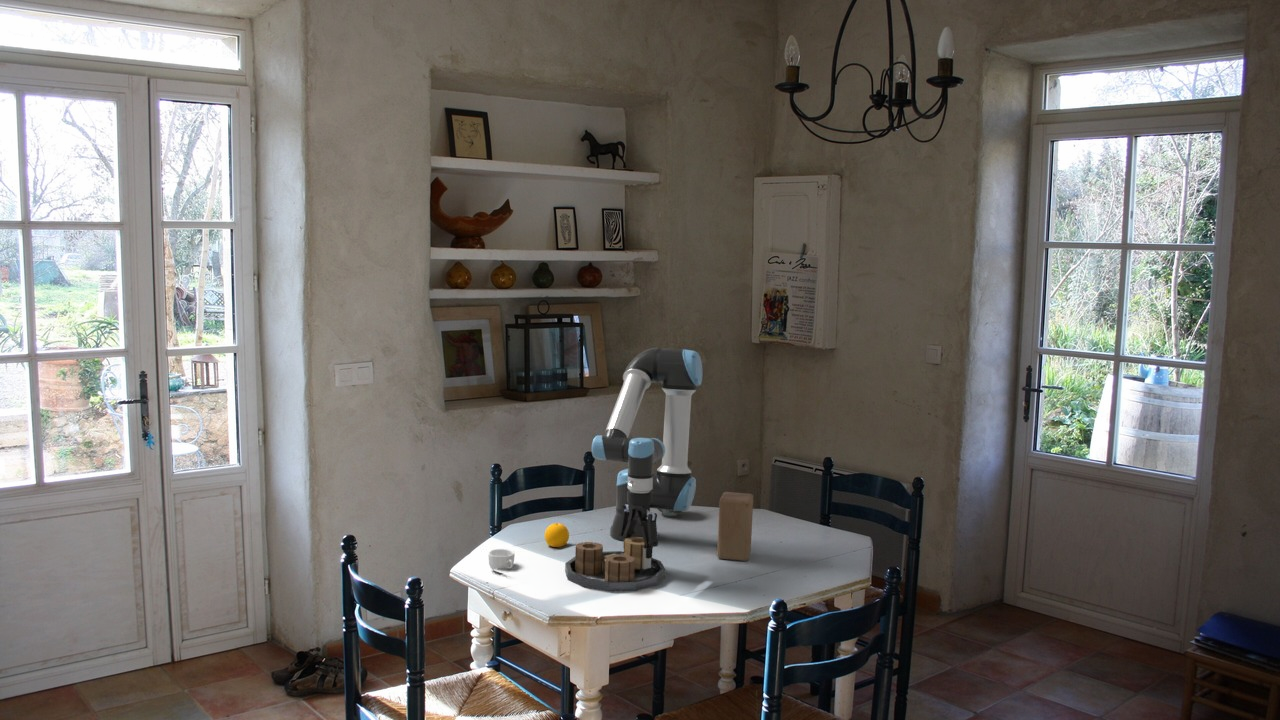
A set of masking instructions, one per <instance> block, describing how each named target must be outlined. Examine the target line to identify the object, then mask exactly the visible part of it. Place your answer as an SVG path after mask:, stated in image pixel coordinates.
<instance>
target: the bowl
mask: <svg viewBox="0 0 1280 720" xmlns="http://www.w3.org/2000/svg"><path fill="white" fill-rule="evenodd" d="M657 510H658V512H660V513H661V516H663V517H666V518H675V517H678V516H679V514H680V513H682V512H683V511H673V510H666V509H657Z"/></svg>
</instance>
